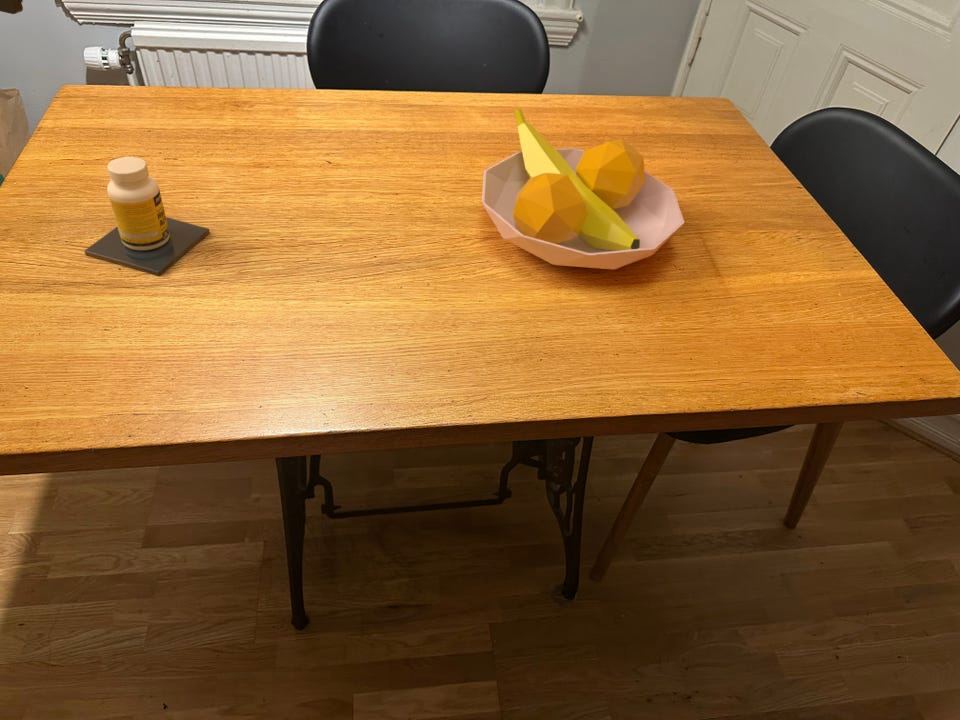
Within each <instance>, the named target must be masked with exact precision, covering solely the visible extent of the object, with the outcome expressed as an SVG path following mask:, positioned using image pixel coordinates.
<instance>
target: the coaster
mask: <svg viewBox="0 0 960 720" xmlns="http://www.w3.org/2000/svg"><path fill="white" fill-rule="evenodd" d="M166 219H167V224H168V228H169V233H170V237H169V240H168V241H167V242H166V243H165V244H164V245H162V246H160V247H158V248H155V249H151V250H133V249H130V248H128V247H126V246H125V245H124V244H123V242H122V240H121V237H120V233H119V230H118V227H117V226H115V227H114V228H112V230H110V231H109V232H108V233H106V234H105V235H104V236H102V237H101V238H99V239H98V240H96V241H95V242H94V243H92V244H91V245H90V246H89V247H87V248H86V249H84V251H83V252H84V254H85V256H89V257H92V258H96V259H99V260H102V261H106V262H109V263H113V264H116V265H120V266H122V267H123V266H124V267H127V268H131V269H134V270H136V271H141V272H144V273H148V274H152V275H155V276H159V277H161V276H163V274H164V273H165V272H166V271H168V270H169V269H170V268H171V267H172V266H173V265H174V264H176V263H177V262H178V261H179V260H180V259H181V258H183V257H184V256H185V255H186V254H187V253H188V252H189V251H191V250H192V249H193V248H194V247H195V246H196V245H198V244H199V243H200V242H201V241H202V240H203V239H204V238H206V237H207V236H208V235H209V234H210V233H211V232H210V231H211V230H210V228H208V227H204V226H200V225H196V224H193V223H189V222H186V221H182V220H178V219H174V218H171V217H167V216H166Z"/></svg>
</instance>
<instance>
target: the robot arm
mask: <svg viewBox="0 0 960 720" xmlns="http://www.w3.org/2000/svg"><path fill="white" fill-rule="evenodd" d="M23 2H24V1H23V0H0V12H2V13H7V14H11V15H15V14H18V13H22V12H23V10H24V7H23Z"/></svg>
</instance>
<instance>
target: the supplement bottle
mask: <svg viewBox="0 0 960 720" xmlns="http://www.w3.org/2000/svg"><path fill="white" fill-rule="evenodd" d="M106 167H107V171H108V175H109V178H110V181H109V183H108V184H107V187H106V192H107V196H108V199H109V202H110V206H111V209H112V212H113V216H114V220H115V223H116V227H118V230H119V233H120V237H121V240H122V242H123V244H124V245H125V246H126V247H128V248H130V249H133V250H151V249H155V248H158V247H160V246H162V245H164V244H165V243H166V242H167V241H168V240H169V237H170V233H169V228H168V224H167V219H166V217H167V216H166V211H165V207H164V203H163V199H162V194H161V191H160V187H159V184H158V182H157V180H155V179H154V177H152V176H150V173H149V169H148V165H147V162H146V161H145V160H144V159H143V158H141V157H137V156H121V157H118V158H115V159H113V160H111V161H110V162H108V164H107V166H106Z"/></svg>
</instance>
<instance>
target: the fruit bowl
mask: <svg viewBox="0 0 960 720" xmlns="http://www.w3.org/2000/svg"><path fill="white" fill-rule="evenodd" d="M513 114H514V116H515V119H516V122H517V124H518V125H517V126H516V127H517V134H518V137H519V144H520V147H521V150H519V151H517V152H515V153H513V154H511V155H510V156H508V157H506V158H504V159H503V160H501V161H499V162H497V163H495V164H493V165H491V166H489V167H488V168H486V169H484V170H483V176H482V192H481V193H482V194H481V204H482V206H483V207H484V209H485V211H486V212H487V214H488V216H489V218H490V220H491V221H492V222H493V224H494V226H495V228H496V229H497V231H498V233H499V234H500V236H501V238H502V239H503V240H504V241H506V242H509V243H510V244H512V245H515V246H516V247H518V248H521V249H522V250H524V251H526V252H528V253H529V254H531V255H534V256H536V257H537V258H540V259H542V260H543V261H545V262H547V263H549V264H552V265H553V266H565V267H576V268H577V267H578V268H587V269H588V268H589V269H591V268H592V269H600V270H601V269H603V270H617V269H619V268H622V267H625V266H627V265H631V264H633V263H636V262H638V261H640V260H643V259H646V258H649V257H651V256H653V255H654V254H656V252H657V251H658V250H659V249H661V247H663V245H664V244H666V242H667V241H668V240H669V239H670V238H671V237H672V236H673V235H674V234H675V233H676V232H677V231H678V230H679V229H680V228H681V227H682V226H683V225H684V224H685V220H684V217H683V214H682V211H681V208H680V204H679V202H678V198H677V196H676V194H675V193H676V192H675V190H674V188H672V187H671V186H669V185H667V183H664V182H663V181H661V180H660V179H658V178H656V176H654V175H652V174H650V173H649V172H648V171H646V170H645V159H644V158H645V157H644V155H643V154H641V153H640V152H639V151H638V150H637V149H636V148H634V147H633V146H632V145H631V144H630V143H628V142H627V140H625V139H624V138H623V137H619V138H616V139H612V140H608V141H607V142H604V143H601V144H599V145H595V146H593V147H590V148H589V149H585V150H584V149H579V148H576V147H570V148H569V147H567V148H555V147H554V146H553V145H552V144H551V143H550V142H549V141H548V140H547V139H546V138H545V137H544V136H543V135H542V134H541V133H540V132H539V131H537V129H536V128H535V127H534V126H533V125H532V124H531V123H530V122H526V118H525V116H524V114H523V111H522V108H517V109H515V110H513Z"/></svg>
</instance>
